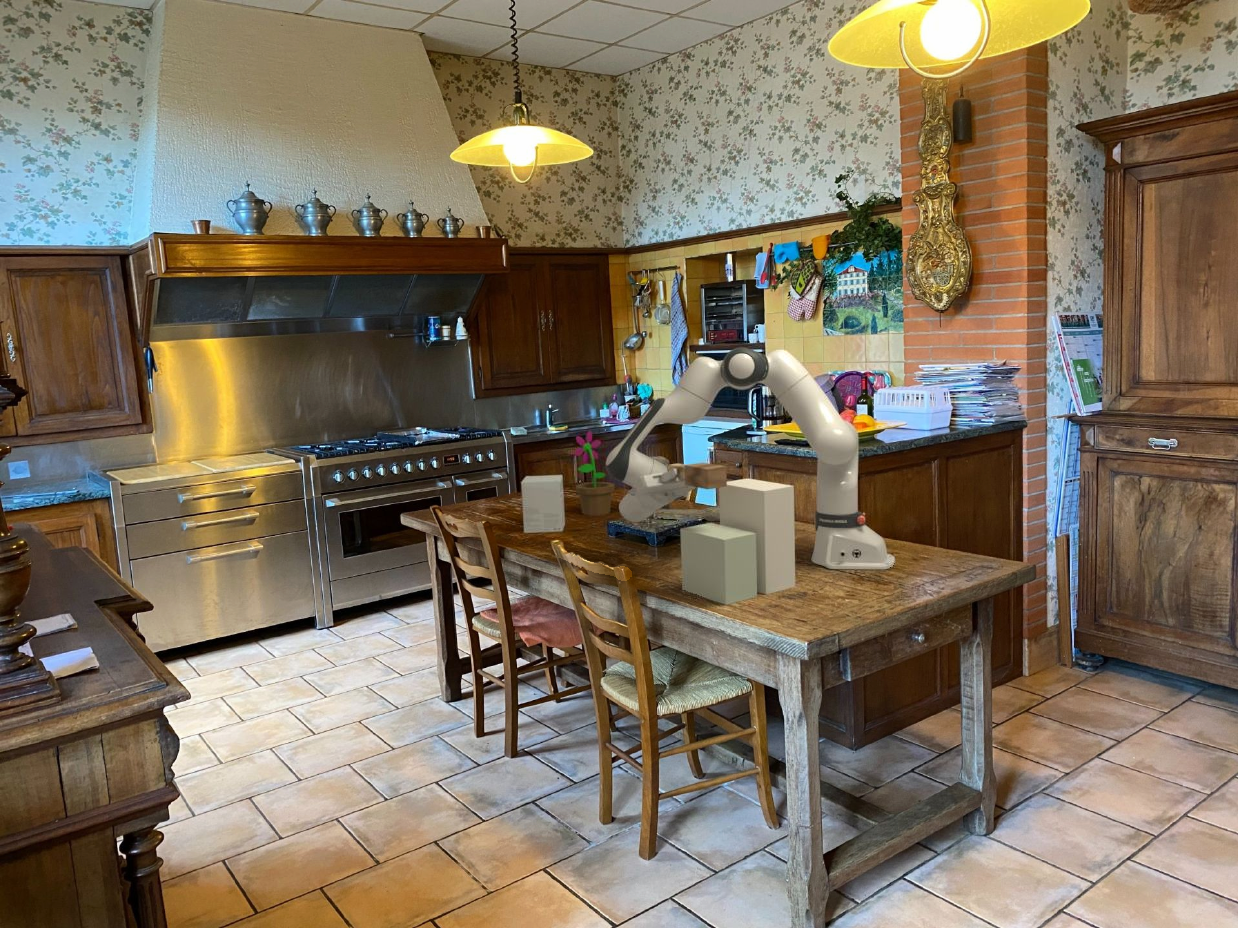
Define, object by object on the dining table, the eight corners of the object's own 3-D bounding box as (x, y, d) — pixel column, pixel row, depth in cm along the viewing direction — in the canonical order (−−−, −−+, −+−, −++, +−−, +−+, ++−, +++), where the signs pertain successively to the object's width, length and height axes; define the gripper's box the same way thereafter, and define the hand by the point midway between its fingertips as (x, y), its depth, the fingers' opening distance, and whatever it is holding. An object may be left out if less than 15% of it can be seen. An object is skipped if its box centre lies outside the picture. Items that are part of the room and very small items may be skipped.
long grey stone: (657, 519, 329) (649, 526, 319) (655, 505, 328) (648, 512, 318) (754, 516, 318) (749, 523, 308) (752, 501, 317) (748, 508, 308)
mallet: (664, 480, 237) (664, 461, 237) (683, 477, 241) (682, 459, 240) (707, 489, 223) (707, 469, 222) (726, 486, 226) (726, 466, 225)
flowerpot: (600, 507, 346) (597, 428, 342) (623, 512, 335) (620, 431, 330) (569, 513, 338) (565, 432, 334) (591, 518, 326) (587, 435, 322)
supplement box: (565, 523, 320) (563, 474, 317) (562, 531, 307) (560, 480, 304) (528, 525, 320) (525, 475, 318) (523, 533, 307) (520, 482, 304)
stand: (682, 589, 233) (679, 489, 229) (749, 573, 246) (747, 478, 242) (726, 604, 219) (723, 498, 215) (795, 586, 232) (793, 485, 228)
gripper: (621, 484, 241) (647, 463, 230) (682, 475, 252) (709, 454, 241) (628, 506, 239) (655, 486, 228) (690, 496, 251) (718, 476, 240)
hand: (683, 469), depth 235 cm, fingers closed on mallet, 3 cm apart
